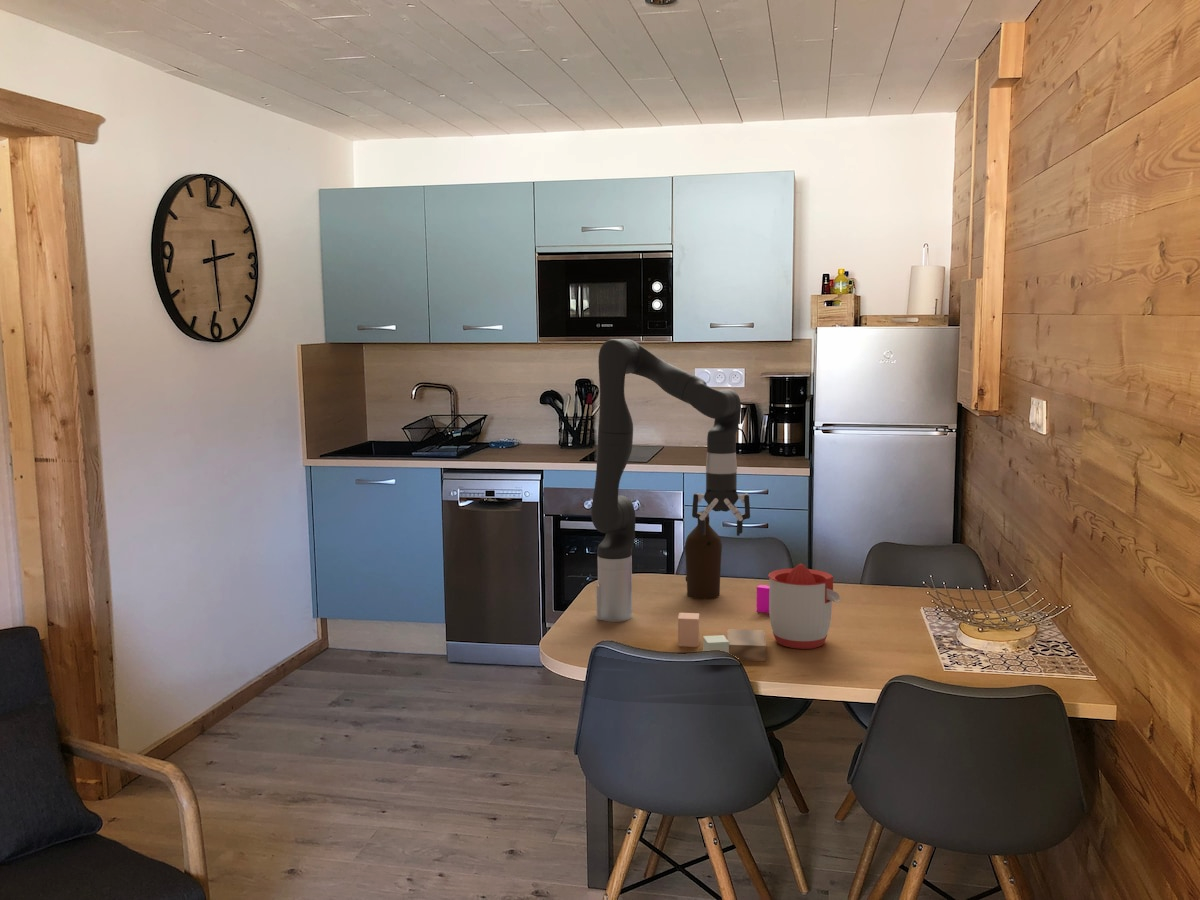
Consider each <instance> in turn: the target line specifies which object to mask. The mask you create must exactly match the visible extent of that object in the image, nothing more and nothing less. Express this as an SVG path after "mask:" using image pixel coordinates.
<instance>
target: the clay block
mask: <svg viewBox="0 0 1200 900" xmlns="http://www.w3.org/2000/svg"><path fill="white" fill-rule="evenodd" d="M699 645H700V613H699V612H679V613H678V617H677V646H678V647H690V648H694V647H695V648H699Z"/></svg>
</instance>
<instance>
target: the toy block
mask: <svg viewBox="0 0 1200 900" xmlns="http://www.w3.org/2000/svg"><path fill="white" fill-rule="evenodd" d="M756 612H758V613H765V612H766V613H767V614H769V585H765V584H759V585H758V586H756Z"/></svg>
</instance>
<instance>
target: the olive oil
mask: <svg viewBox="0 0 1200 900" xmlns="http://www.w3.org/2000/svg"><path fill="white" fill-rule="evenodd" d="M703 511H704V510H701V511H700V510H699V511H697V512H698V513H702V512H703ZM704 519H705V535H702V533H700V531H699V519H697V525H696V526H695V527H694V528H693V529H692V531H690V533H688V535H687V537H686V539H685V541H684V542H685V543H684V550H685V551H684V552H685V565H686V566H685V570H686V572H685V573H686V574H685V582H686V594H687V597H689V598H691V599H695V600H712V599H717V598H719V597H720V593H721V592H720V591H721V570H722V569H721V567H722V566H721V565H722V553H723V552H722V550H723V549H722V548H723V543H722V540H721V537H720V535H719V534H718V533H717V532H716V531H715V529H713V527H712V526H711V524H710V513H709V514H708V515H707V516H706V517H705V518H704Z"/></svg>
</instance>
